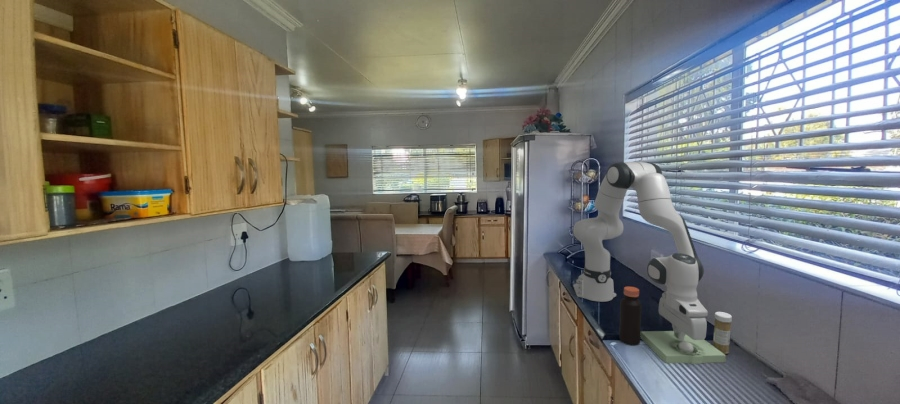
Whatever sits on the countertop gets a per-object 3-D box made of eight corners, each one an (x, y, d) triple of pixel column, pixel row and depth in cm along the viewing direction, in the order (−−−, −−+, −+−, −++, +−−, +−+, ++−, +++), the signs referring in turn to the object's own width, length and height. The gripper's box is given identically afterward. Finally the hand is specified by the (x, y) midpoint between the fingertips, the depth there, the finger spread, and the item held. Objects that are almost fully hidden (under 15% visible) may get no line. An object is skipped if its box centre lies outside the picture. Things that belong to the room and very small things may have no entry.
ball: (685, 354, 113) (677, 355, 117) (698, 354, 113) (690, 355, 117) (680, 340, 115) (673, 342, 119) (693, 340, 115) (686, 341, 119)
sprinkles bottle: (716, 346, 120) (719, 310, 119) (731, 352, 116) (734, 315, 115) (709, 349, 118) (712, 313, 117) (724, 356, 114) (727, 318, 113)
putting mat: (640, 337, 127) (640, 331, 127) (691, 337, 127) (692, 330, 126) (667, 364, 111) (667, 356, 110) (726, 363, 110) (726, 356, 110)
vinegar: (631, 335, 129) (633, 284, 127) (644, 344, 123) (646, 291, 120) (615, 337, 128) (616, 286, 126) (627, 346, 121) (629, 293, 119)
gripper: (654, 289, 128) (652, 324, 130) (691, 314, 108) (689, 355, 109) (671, 289, 128) (669, 324, 130) (712, 314, 107) (709, 354, 109)
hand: (678, 338), depth 119 cm, fingers closed
